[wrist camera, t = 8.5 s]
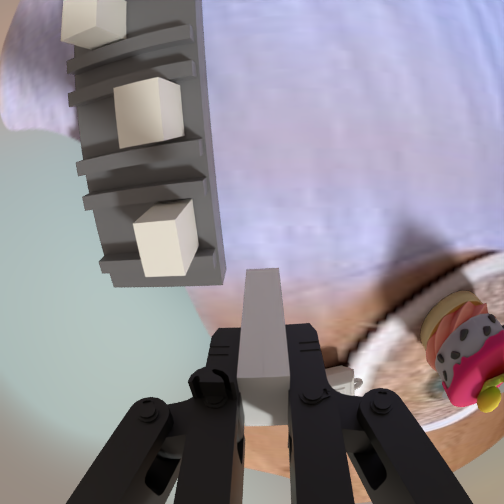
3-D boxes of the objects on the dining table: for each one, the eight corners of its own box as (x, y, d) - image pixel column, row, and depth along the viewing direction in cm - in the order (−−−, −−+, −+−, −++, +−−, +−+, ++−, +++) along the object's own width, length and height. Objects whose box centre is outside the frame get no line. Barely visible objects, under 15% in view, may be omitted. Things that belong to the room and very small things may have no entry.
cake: (466, 343, 33) (510, 417, 20) (409, 357, 34) (447, 446, 20) (488, 283, 29) (552, 356, 15) (428, 293, 30) (492, 386, 16)
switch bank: (91, -2, 17) (67, -14, 13) (200, -34, 16) (189, -56, 12) (123, 272, 29) (106, 295, 25) (226, 268, 29) (220, 294, 25)
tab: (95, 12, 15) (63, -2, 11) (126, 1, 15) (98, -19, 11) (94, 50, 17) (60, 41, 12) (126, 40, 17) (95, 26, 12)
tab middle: (143, 92, 19) (113, 88, 14) (180, 85, 19) (158, 76, 14) (147, 141, 21) (119, 148, 16) (184, 135, 20) (163, 140, 16)
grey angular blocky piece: (358, 352, 33) (375, 405, 26) (359, 383, 36) (372, 432, 29) (287, 368, 35) (292, 423, 27) (296, 397, 37) (300, 447, 30)
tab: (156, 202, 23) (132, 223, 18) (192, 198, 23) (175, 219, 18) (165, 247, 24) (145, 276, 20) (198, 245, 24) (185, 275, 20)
